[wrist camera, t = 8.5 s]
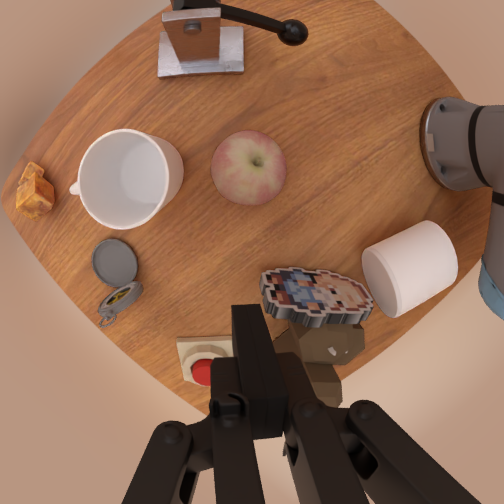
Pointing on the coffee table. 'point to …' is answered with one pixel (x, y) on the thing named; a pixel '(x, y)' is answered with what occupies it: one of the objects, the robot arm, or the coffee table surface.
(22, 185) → the pyrite
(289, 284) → the toy
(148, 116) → the coffee table surface
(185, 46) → the bracket
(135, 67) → the coffee table surface
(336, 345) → the candle
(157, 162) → the mug
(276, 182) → the apple
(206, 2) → the lever
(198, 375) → the button
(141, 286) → the pocket watch
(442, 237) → the white cylinder
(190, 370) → the housing
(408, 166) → the coffee table surface
